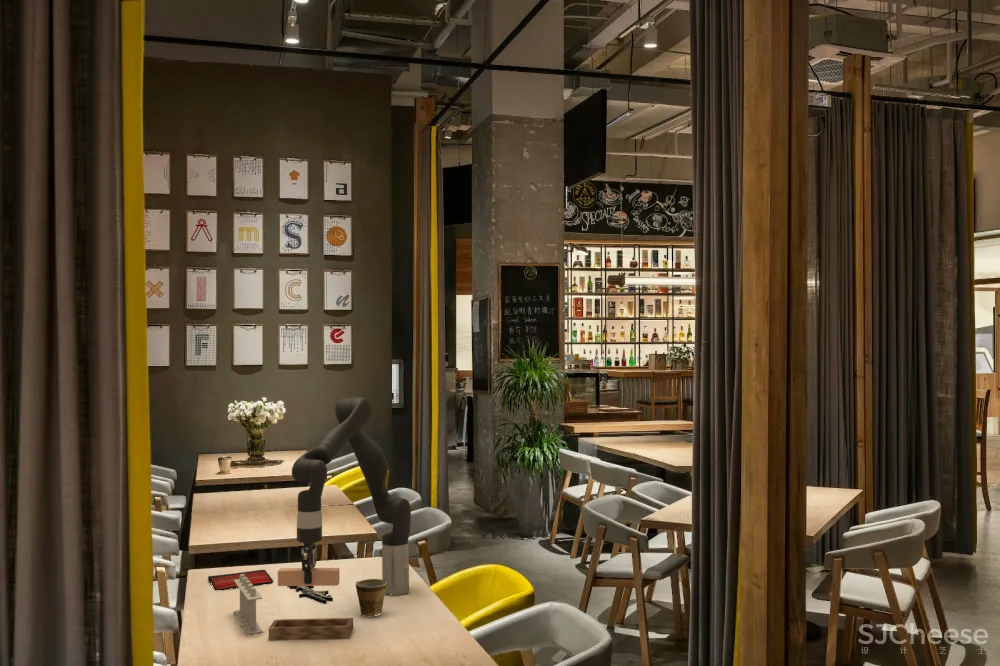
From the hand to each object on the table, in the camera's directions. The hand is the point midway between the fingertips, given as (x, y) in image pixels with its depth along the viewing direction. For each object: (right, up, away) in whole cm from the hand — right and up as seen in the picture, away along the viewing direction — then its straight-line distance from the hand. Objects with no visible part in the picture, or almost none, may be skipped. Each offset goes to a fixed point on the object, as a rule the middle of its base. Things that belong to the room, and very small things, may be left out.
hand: (309, 581), depth 268 cm
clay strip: (0, -1, 0) cm, 1 cm away
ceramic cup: (+15, -16, +20) cm, 30 cm away
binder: (-38, -17, +58) cm, 71 cm away
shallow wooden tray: (+1, -16, -1) cm, 16 cm away
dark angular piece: (-9, -17, +42) cm, 46 cm away
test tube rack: (-22, -16, +11) cm, 29 cm away
